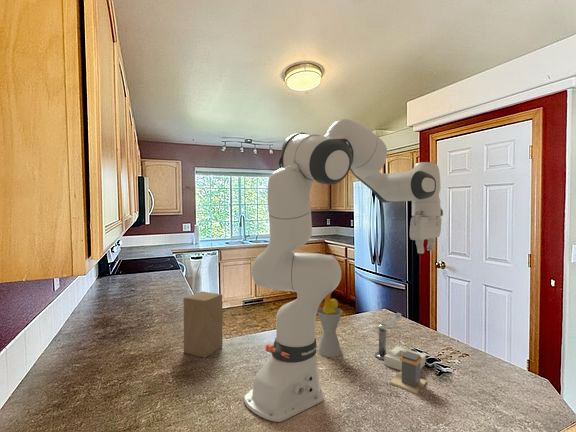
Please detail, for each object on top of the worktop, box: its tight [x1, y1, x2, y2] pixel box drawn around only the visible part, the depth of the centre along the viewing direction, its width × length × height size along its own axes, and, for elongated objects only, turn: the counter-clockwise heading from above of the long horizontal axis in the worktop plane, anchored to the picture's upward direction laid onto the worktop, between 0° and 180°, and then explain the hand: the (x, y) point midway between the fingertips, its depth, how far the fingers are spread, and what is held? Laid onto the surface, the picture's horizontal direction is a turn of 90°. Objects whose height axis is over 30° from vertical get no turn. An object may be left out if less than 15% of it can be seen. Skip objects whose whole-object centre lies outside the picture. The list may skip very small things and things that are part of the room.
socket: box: [383, 345, 427, 372], centre depth 103 cm, size 10×10×3 cm
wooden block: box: [183, 291, 223, 359], centre depth 113 cm, size 10×10×20 cm
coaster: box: [389, 370, 428, 395], centre depth 92 cm, size 8×8×1 cm
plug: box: [400, 351, 422, 388], centre depth 91 cm, size 5×5×8 cm
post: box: [374, 329, 388, 361], centre depth 108 cm, size 5×5×10 cm
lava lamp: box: [317, 254, 343, 358], centre depth 112 cm, size 9×9×35 cm
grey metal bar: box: [377, 312, 402, 331], centre depth 112 cm, size 15×3×2 cm, turn 135°
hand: (425, 251), depth 105 cm, fingers open, 8 cm apart
